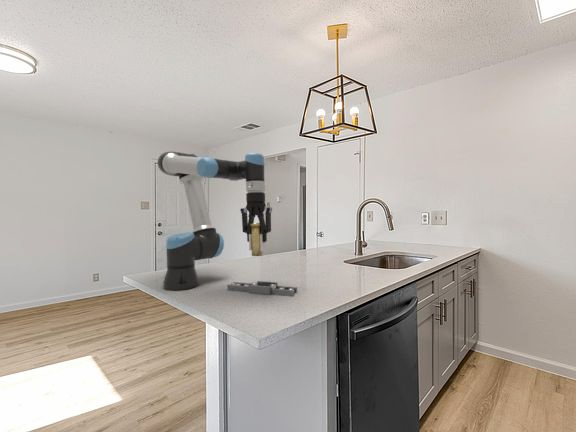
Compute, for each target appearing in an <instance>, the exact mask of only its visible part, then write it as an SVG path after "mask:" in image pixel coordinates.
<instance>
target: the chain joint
mask: <svg viewBox="0 0 576 432" xmlns="http://www.w3.org/2000/svg"><path fill="white" fill-rule="evenodd" d="M278 284H279V283H278V281H277V282H275V281H263V280H257V281H256V282H252V283H249V282H238V281H237V282H236V281H233V282H232V283H230V284H227V285H226V287H227V289H226V290H227V291H232V292H233V291H235V292H243V293H244V292H245V293H249V294H255V295H264V296H265V295H267V296H271V295H276V296H287V297H293V296H294V295H295V294H297V293H298V287H297V286H285V285H278Z"/></svg>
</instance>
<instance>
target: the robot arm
mask: <svg viewBox="0 0 576 432" xmlns="http://www.w3.org/2000/svg"><path fill="white" fill-rule="evenodd" d="M157 167H158V169H159V171H160V172H161V173H163V174H165V175H167V176H172V177H178V179H179V182H180V183H181V184H182V185H183V188H184V190H185V196H186V201H187V205H188V211H189V214H190V218H191V223H192V228H193V230H192V232H182V233H181V232H180V233H175V234H172V235H170V236H168V237H167V238H166V267H167V268H166V273H165V276H164V278H163V279H164V281H162V287H163V289H164V290H167V291H183V290H184V291H185V290H190V289H194V288H196V287H198V286H199V285H200V279H199V277H198V272H197V270H196V266H195V265H196V264H195V263H196V262H195V261H201V260H206V259H214V258H217V257H219V256H221V254H222V253H223V250H224V248H225V247H224V246H225V240H224V237H223V235H222V234H221V233H220V232H219V233H218V232H217V229H216V227H215V226H213V225H212V222H211V217H210V214H209V209H208V203H207V199H206V195H205V192H204V191H205V190H204V187H203V183H202V182H203V180H204V178H206V179H207V178H209V179H211V178H212V179H222V180H223V179H224V180H229V181H235V182H237V181H240V180H245V190H246V192H247V193H246V194H245V196H246V200H245V201H246V205H245V207H243V208H240V209H239V210H240V214H241V224H242V226H241V227H242V233H244V234H246V240H247V243H248V249H249V250H248V251H252V247H251V226H250V223H255V222H254V221H255V218H256V216H257V218H258V223H260V228H261V232H262V233H261V234H260V251H263V252H264V251H265V250H266V242H268V239H267V237H268V236H267V235H268V233H271V232H272V211H273V208H272V207H269V206H267V205H266V203H265V202H266V193H265V191H266V189H265V188H266V186H265V185H266V184H265V161H264V155H263V154H262V153H259V152H249V153H246V154H245V157H244V160H241V161H233V160H228V159H219V158H212V157H207V156H206V157H201V156H200V155H197V154H194V153H184V152H178V151H166V152H163V153H162V154H160V155H159V157H158V159H157ZM264 212H265V214H264ZM264 215H265V216H264Z"/></svg>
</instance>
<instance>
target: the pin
mask: <svg viewBox="0 0 576 432" xmlns="http://www.w3.org/2000/svg"><path fill="white" fill-rule="evenodd" d="M250 226H251V247H252V250H251V256H252V257H261V256H263V255H264V253H263V252H264V250H263V251H260V234H261V233H262V232H261V228H260V223H259V222H254V223H250Z"/></svg>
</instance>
